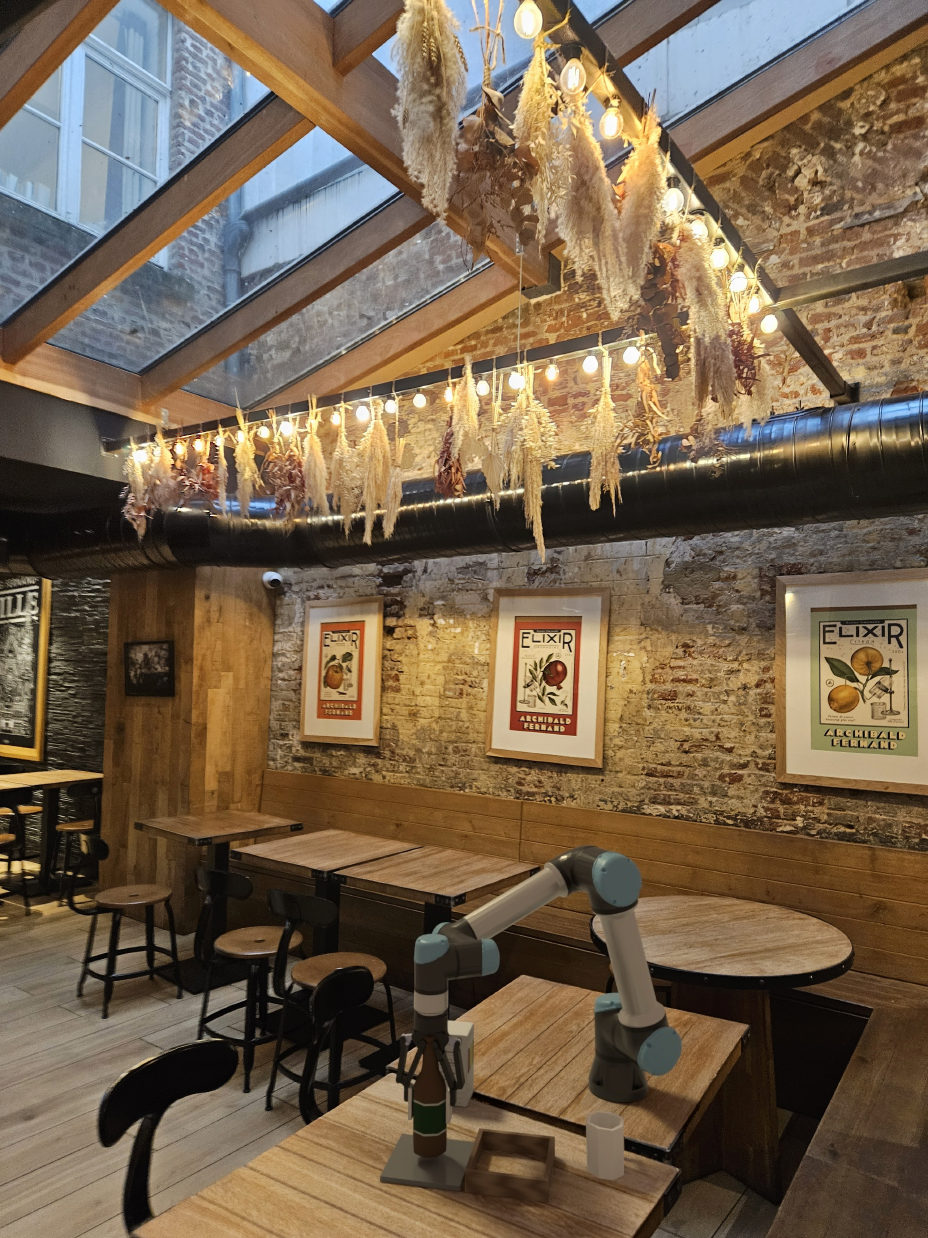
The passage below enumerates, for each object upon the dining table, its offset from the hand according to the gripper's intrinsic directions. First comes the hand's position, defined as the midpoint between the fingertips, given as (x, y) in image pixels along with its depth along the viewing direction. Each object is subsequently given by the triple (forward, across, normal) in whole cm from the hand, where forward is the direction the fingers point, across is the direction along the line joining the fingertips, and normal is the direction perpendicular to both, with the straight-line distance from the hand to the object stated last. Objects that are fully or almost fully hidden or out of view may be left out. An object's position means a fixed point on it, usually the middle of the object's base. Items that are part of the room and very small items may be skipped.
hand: (429, 1119), depth 175 cm
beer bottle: (+6, 0, 0) cm, 6 cm away
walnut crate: (+9, -18, 0) cm, 20 cm away
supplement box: (+9, +1, -30) cm, 31 cm away
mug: (+9, -38, -8) cm, 40 cm away
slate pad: (+9, 0, 0) cm, 9 cm away
